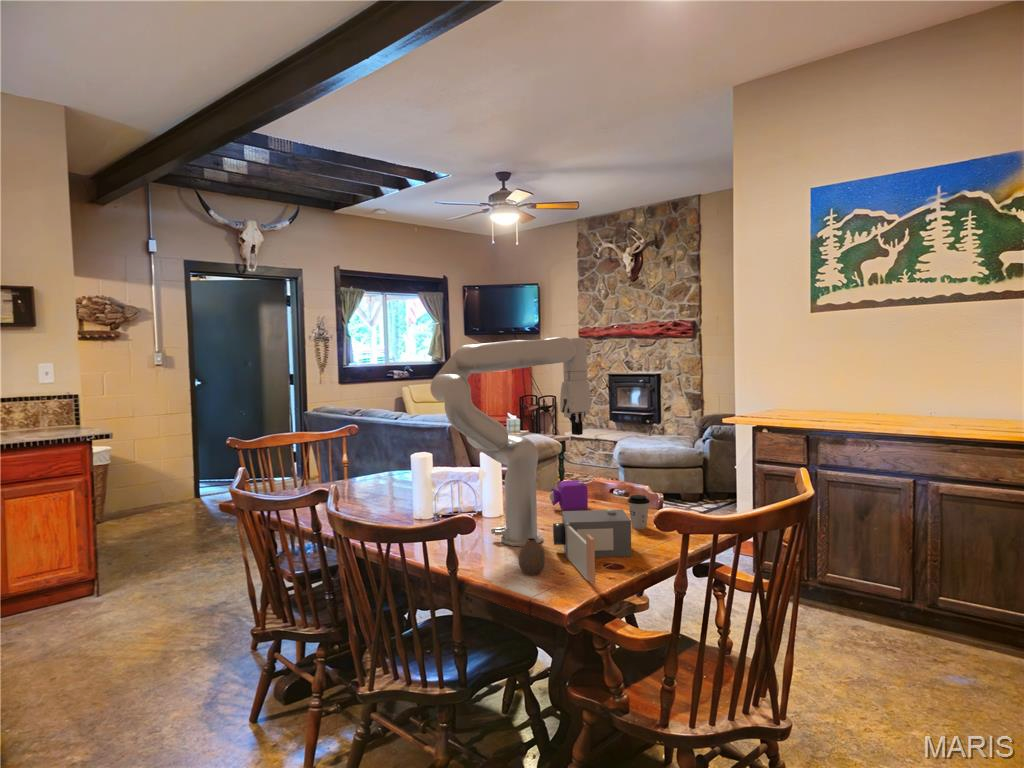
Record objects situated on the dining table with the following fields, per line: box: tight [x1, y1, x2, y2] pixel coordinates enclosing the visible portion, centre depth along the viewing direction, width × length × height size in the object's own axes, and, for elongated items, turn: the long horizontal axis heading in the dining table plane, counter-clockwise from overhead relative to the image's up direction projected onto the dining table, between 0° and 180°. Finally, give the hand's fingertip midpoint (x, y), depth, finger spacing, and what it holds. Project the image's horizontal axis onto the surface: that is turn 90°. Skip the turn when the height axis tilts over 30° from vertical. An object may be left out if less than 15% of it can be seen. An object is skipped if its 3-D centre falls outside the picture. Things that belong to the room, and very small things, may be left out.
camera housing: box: [552, 508, 632, 559], centre depth 174 cm, size 21×12×11 cm, turn 90°
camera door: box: [565, 523, 596, 585], centre depth 157 cm, size 22×1×12 cm, turn 11°
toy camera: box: [549, 480, 589, 511], centre depth 221 cm, size 11×14×10 cm
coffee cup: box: [627, 494, 651, 530], centre depth 195 cm, size 7×7×10 cm
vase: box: [518, 538, 546, 576], centre depth 158 cm, size 7×7×9 cm
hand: (577, 434), depth 193 cm, fingers closed
